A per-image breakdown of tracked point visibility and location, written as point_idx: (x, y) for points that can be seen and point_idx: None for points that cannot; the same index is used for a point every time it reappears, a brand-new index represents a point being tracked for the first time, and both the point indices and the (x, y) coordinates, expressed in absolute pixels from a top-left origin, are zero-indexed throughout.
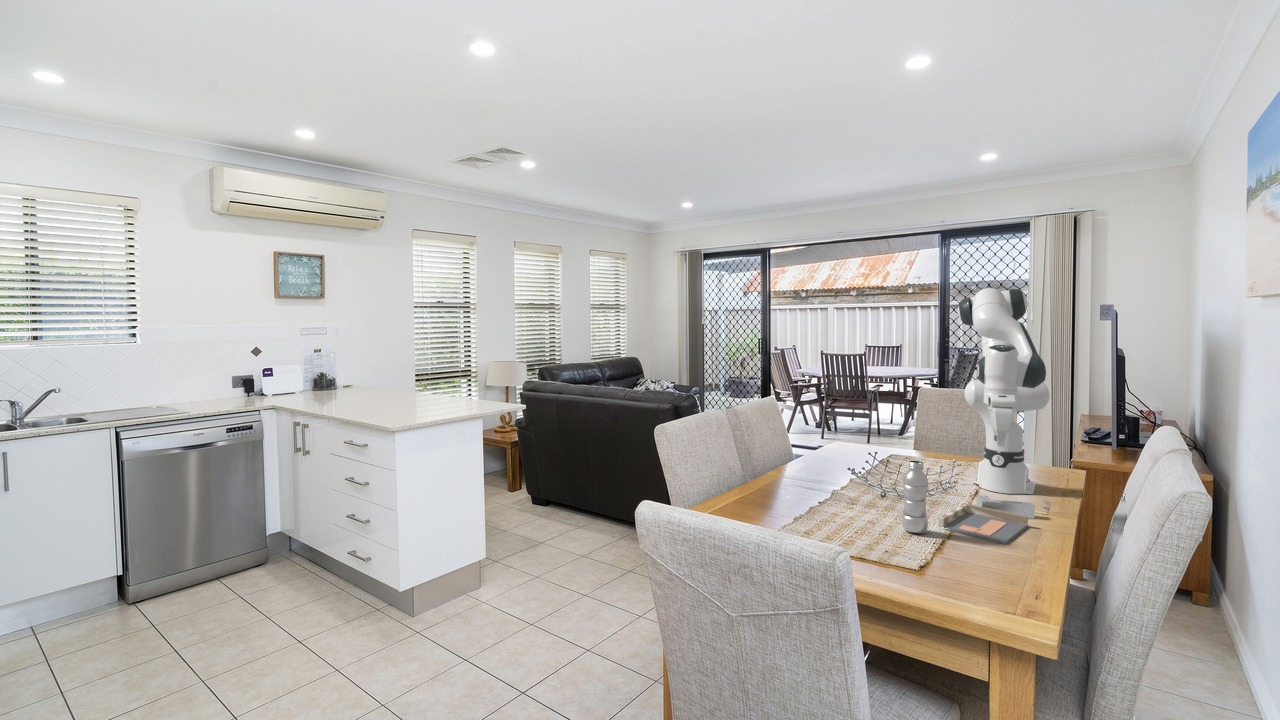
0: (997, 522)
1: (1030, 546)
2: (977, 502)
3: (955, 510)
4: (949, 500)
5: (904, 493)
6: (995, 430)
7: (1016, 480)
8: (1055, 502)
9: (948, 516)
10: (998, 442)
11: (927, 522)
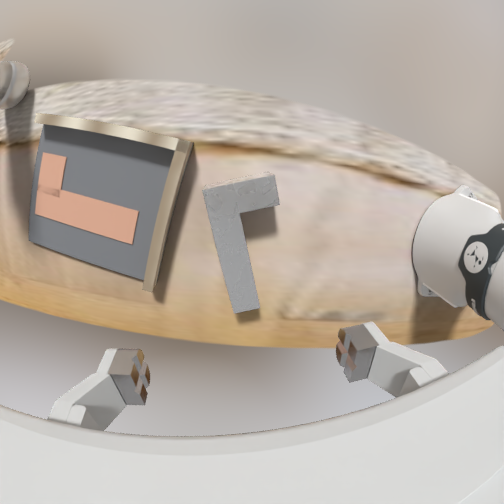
0: (121, 224)
1: (49, 276)
2: (259, 175)
3: (105, 129)
4: (305, 106)
5: None
6: (3, 410)
7: (435, 277)
8: None
9: (56, 125)
10: (103, 366)
11: (1, 108)
